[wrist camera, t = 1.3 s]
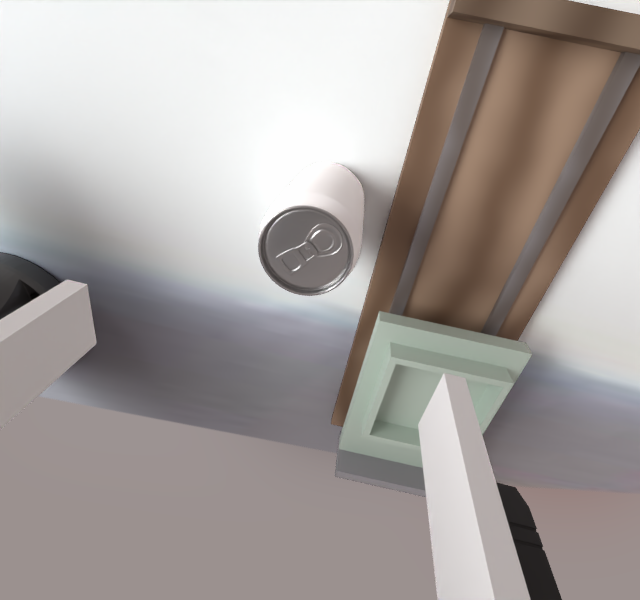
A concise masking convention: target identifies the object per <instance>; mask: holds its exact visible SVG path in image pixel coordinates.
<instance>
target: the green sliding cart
mask: <svg viewBox="0 0 640 600" xmlns="http://www.w3.org/2000/svg"><path fill="white" fill-rule="evenodd" d="M531 356H532V352H531V351H530V349H529V348H528V346H527V344H526V343H524V342H520V341H515V340H511V339H506V338H501V337H497V336H492V335H488V334H483V333H478V332H474V331H469V330H465V329H460V328H455V327H451V326H446V325H442V324H437V323H432V322H428V321H423V320H419V319H414V318H409V317H405V316H400V315H396V314H391V313H387V312H382V311H379V313H378V317H377V320H376V323H375V326H374V329H373V333H372V336H371V339H370V342H369V345H368V349H367V352H366V355H365V358H364V361H363V365H362V368H361V371H360V374H359V377H358V381H357V384H356V387H355V390H354V393H353V397H352V400H351V403H350V406H349V409H348V413H347V416H346V419H345V422H344V425H343V429H342V431H340V434H339V439H338V449H337V460H336V470H335V477H339V478H343V479H347V480H352V481H357V482H361V483H365V484H370V485H374V486H379V487H383V488H388V489H392V490H397V491H401V492H405V493H409V494H414V495H419V496H423V497H426V490H425V482H424V473H423V464H422V455H421V446H420V437H419V428H418V424H419V422H420V420H421V418H422V416H423V414H424V412H425V410H426V408H427V406H428V404H429V402H430V400H431V398H432V396H433V394H434V392H435V390H436V388H437V386H438V384H439V382H440V380H441V378H442V376H443V374H444V373H447V374H451V375H455V376H459V377H463V378H466V382H467V385H468V389H469V392H470V395H471V399H472V402H473V406H474V409H475V412H476V416H477V419H478V423H479V426H480V429H481V433H482V435H483V434H484V432H485V430H486V429H487V427H488V426H489V424H490V422H491V421H492V419H493V417H494V416H495V414H496V413H497V411H498V409H499V408H500V406H501V405H502V403H503V401H504V400H505V398H506V396H507V395H508V393H509V392H510V390H511V388H512V387H513V385H514V384H515V382H516V380H517V379H518V377H519V375H520V374H521V372H522V371H523V369H524V367H525V366H526V364H527V362H528V361H529V359H530V358H531Z"/></svg>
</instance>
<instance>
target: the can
mask: <svg viewBox="0 0 640 600" xmlns="http://www.w3.org/2000/svg"><path fill="white" fill-rule="evenodd" d="M363 222H364V191H363V188H362V185H361V183H360V182H359V180H358V179H357V177H356V176H355V175H354V174H353V173H352V172H351V171H350V170H349V169H347V168H346V167H344V166H342V165H340V164H337V163H333V162H319V163H315V164H312V165H310V166H308V167H307V168H305V169H304V170H302V171H301V172H300V173H299V174H298V175H297V176H296V177H295V179H294V180H293V181H292V182H291V183H290V184H289V185H288V186H287V188H286V189H285V190H284V191H283V192H282V193H281V194H280V196H279V197H278V198H277V199H276V200H275V202H274V203H273V204H272V205H271V206H270V208H269V209H268V211H267V212H266V214H265V216H264V218H263V220H262V222H261V226H260V230H259V244H258V251H259V257H260V261H261V264H262V266H263V268H264V270H265V272H266V273H267V274H268V276H269V277H270V278H271V279H272V280H273V281H274V282H275V283H276V284H277V285H279V286H280V287H282V288H283V289H285V290H287V291H289V292H292V293H295V294H299V295H307V296H312V295H320V294H323V293H326V292H329V291H331V290H333V289H334V288H336V287H337V286H339V285H340V284H341V283H342V282H343V281H344V280H345V278H346V277H347V276H348V275H349V274H350V273H351V271H352V270H353V269H354V267H355V265H356V263H357V261H358V259H359V256H360V252H361V246H362V236H363Z"/></svg>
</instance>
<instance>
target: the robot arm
mask: <svg viewBox="0 0 640 600" xmlns="http://www.w3.org/2000/svg"><path fill="white" fill-rule="evenodd" d="M96 344H97V342H96V335H95V329H94V323H93V317H92V310H91V304H90V298H89V292H88V286H87V284H84V283H80V282H76V281H71V280H65V281H64V282H62V283H59V282H58V281H57V280H56V279H55V278H54V277H53V276H51V275H50V274H49V273H47V272H46V271H44V270H43V269H41V268H40V267H38V266H36V265H35V264H33V263H31V262H29V261H27V260H24V259H22V258H19V257H17V256H13V255H10V254H6V253H0V430H1V429H2V428H3V427H4V426H5V425H6V424H7V423H8V422H10V421H11V420H12V419H13V418H14V417H15V416H16V415H18V414H19V413H20V412H21V411H22V410H23V409H24V408H25V407H26V406H28V405H29V404H30V403H31V402H32V401H33V400H34V399H35V398H37V397H38V396H39V395H40V394H41V393H42V392H43V391H44V390H46V389H47V388H48V387H49V386H50V385H51V384H52V383H53V382H54V381H56V380H57V379H58V378H59V377H60V376H61V375H62V374H63V373H65V372H66V371H67V370H68V369H69V368H70V367H71V366H72V365H73V364H75V363H76V362H77V361H78V360H79V359H80V358H81V357H82V356H84V355H85V354H86V353H87V352H88V351H89V350H90V349H91V348H93V347H94V346H95V345H96ZM418 428H419V437H420V446H421V455H422V464H423V473H424V482H425V490H426V499H427V507H428V517H429V526H430V535H431V544H432V553H433V561H434V571H435V579H436V589H437V598H438V600H562V599H561V596H560V593H559V590H558V588H557V585H556V582H555V579H554V576H553V574H552V571H551V568H550V565H549V562H548V560H547V557H546V554H545V551H544V550H543V549H542V547H543V545H542V543H541V540H540V537H539V534H538V533H537V532H536V526H535V523H534V520H533V517H532V514H531V512H530V509H529V507H528V505H527V504H526V502H525V501H524V499H523V498H522V496H521V495H520V493H519V492H518V491H517V489H516V488H515V487H511V486H508V485H504V484H500V483H496V480H495V477H494V474H493V470H492V467H491V463H490V460H489V457H488V453H487V450H486V446H485V443H484V440H483V436H482V433H481V429H480V426H479V423H478V419H477V416H476V412H475V409H474V406H473V402H472V399H471V395H470V392H469V389H468V385H467V382H466V378H463V377H459V376H455V375H451V374H447V373H444V374H443V376H442V378H441V380H440V382H439V384H438V386H437V388H436V390H435V392H434V394H433V396H432V398H431V400H430V402H429V404H428V406H427V408H426V410H425V412H424V414H423V416H422V418H421V420H420V422H419V424H418Z"/></svg>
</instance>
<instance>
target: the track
mask: <svg viewBox="0 0 640 600" xmlns="http://www.w3.org/2000/svg"><path fill="white" fill-rule="evenodd" d="M639 129H640V15H638V14H633V13H628V12H623V11H618V10H613V9H608V8H603V7H598V6H593V5H588V4H583V3H579V2H574V1H569V0H450V1H449V5H448V9H447V12H446V16H445V19H444V23H443V26H442V30H441V33H440V37H439V40H438V44H437V47H436V51H435V55H434V58H433V62H432V65H431V69H430V72H429V76H428V79H427V83H426V86H425V90H424V93H423V97H422V101H421V104H420V108H419V111H418V115H417V118H416V122H415V125H414V129H413V132H412V136H411V139H410V143H409V146H408V150H407V154H406V157H405V161H404V164H403V168H402V171H401V175H400V178H399V182H398V185H397V189H396V192H395V196H394V200H393V203H392V207H391V210H390V214H389V217H388V221H387V224H386V228H385V231H384V235H383V238H382V242H381V245H380V249H379V253H378V256H377V260H376V263H375V267H374V270H373V274H372V277H371V281H370V284H369V288H368V291H367V295H366V299H365V302H364V306H363V309H362V313H361V316H360V320H359V323H358V327H357V330H356V334H355V337H354V341H353V345H352V348H351V352H350V355H349V359H348V362H347V366H346V369H345V373H344V376H343V380H342V383H341V387H340V390H339V394H338V398H337V401H336V405H335V408H334V412H333V415H332V420H331V424H333V425H337V426H342V427H343V425H344V422H345V419H346V416H347V413H348V409H349V406H350V403H351V400H352V397H353V393H354V390H355V387H356V384H357V381H358V377H359V374H360V371H361V368H362V365H363V361H364V358H365V355H366V352H367V349H368V345H369V342H370V339H371V336H372V333H373V329H374V326H375V323H376V320H377V317H378V313H379V311H382V312H387V313H391V314H396V315H400V316H405V317H409V318H414V319H419V320H423V321H428V322H432V323H437V324H442V325H446V326H451V327H455V328H460V329H465V330H469V331H474V332H478V333H483V334H488V335H492V336H497V337H501V338H506V339H511V340H515V341H518V339H519V337H520V335H521V334H522V332H523V330H524V329H525V327H526V325H527V323H528V322H529V320H530V318H531V316H532V315H533V313H534V311H535V309H536V308H537V306H538V304H539V302H540V301H541V299H542V297H543V296H544V294H545V292H546V290H547V289H548V287H549V285H550V283H551V282H552V280H553V278H554V276H555V275H556V273H557V271H558V270H559V268H560V266H561V264H562V263H563V261H564V259H565V257H566V256H567V254H568V252H569V250H570V249H571V247H572V245H573V244H574V242H575V240H576V238H577V237H578V235H579V233H580V231H581V230H582V228H583V226H584V224H585V223H586V221H587V219H588V217H589V216H590V214H591V212H592V211H593V209H594V207H595V205H596V204H597V202H598V200H599V198H600V197H601V195H602V193H603V191H604V190H605V188H606V186H607V185H608V183H609V181H610V179H611V178H612V176H613V174H614V172H615V171H616V169H617V167H618V165H619V164H620V162H621V160H622V158H623V157H624V155H625V153H626V152H627V150H628V148H629V146H630V145H631V143H632V141H633V139H634V138H635V136H636V134H637V132H638V131H639Z"/></svg>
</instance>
